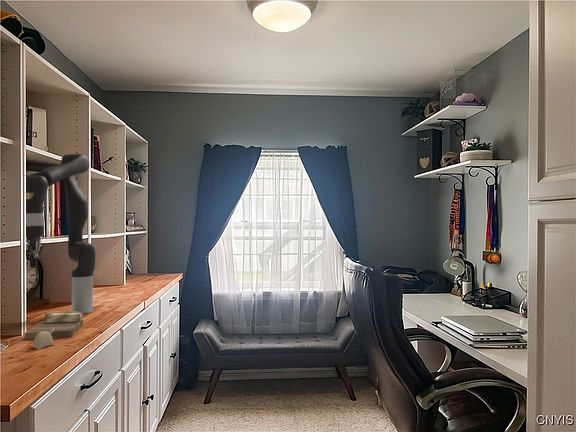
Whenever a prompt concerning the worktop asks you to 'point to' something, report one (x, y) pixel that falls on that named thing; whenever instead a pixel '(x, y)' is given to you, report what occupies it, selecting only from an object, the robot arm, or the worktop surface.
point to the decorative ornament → (43, 339)
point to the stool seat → (55, 328)
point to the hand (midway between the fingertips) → (33, 267)
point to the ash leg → (63, 317)
